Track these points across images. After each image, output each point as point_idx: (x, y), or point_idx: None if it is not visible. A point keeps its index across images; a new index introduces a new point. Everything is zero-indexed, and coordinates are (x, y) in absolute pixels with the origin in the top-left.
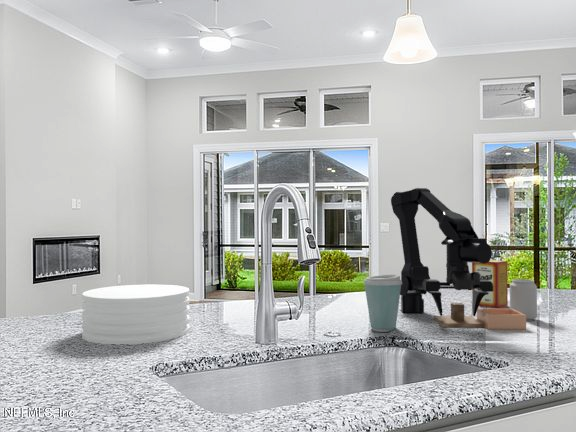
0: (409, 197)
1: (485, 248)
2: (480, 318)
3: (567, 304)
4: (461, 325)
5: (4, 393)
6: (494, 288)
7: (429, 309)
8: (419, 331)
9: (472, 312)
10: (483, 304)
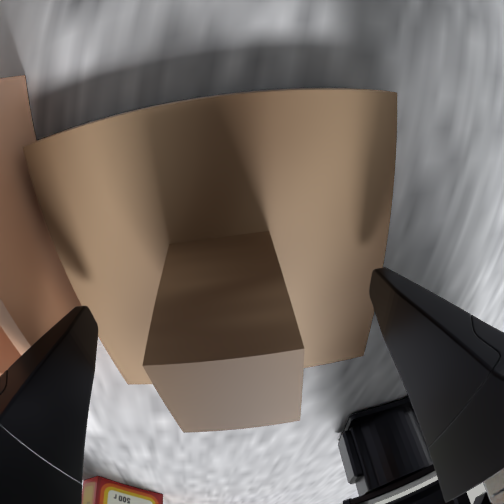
0: None
1: None
2: (43, 276)
3: None
4: (212, 96)
5: None
6: None
7: (292, 466)
8: (497, 43)
9: (95, 348)
10: (134, 491)
